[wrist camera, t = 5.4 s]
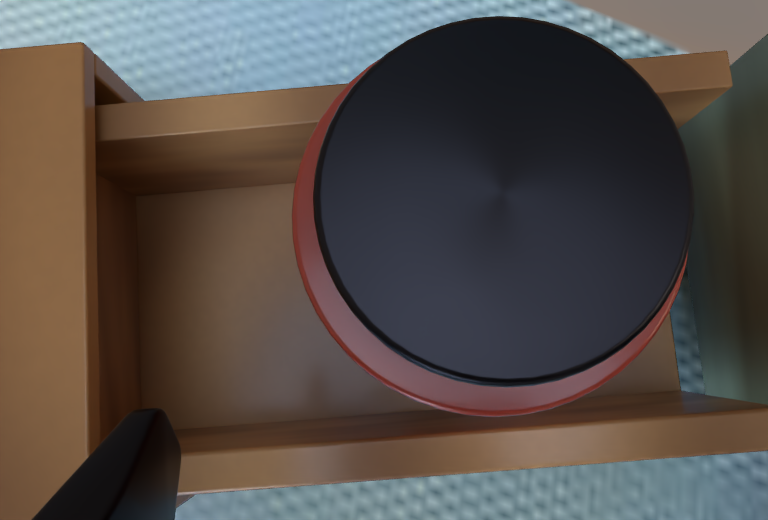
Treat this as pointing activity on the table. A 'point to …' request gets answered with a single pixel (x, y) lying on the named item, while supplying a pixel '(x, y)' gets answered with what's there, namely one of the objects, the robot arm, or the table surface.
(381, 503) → the table surface
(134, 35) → the table surface
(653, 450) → the drawer
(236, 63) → the table surface
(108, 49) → the table surface
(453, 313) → the thermos bottle
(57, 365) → the cabinet
